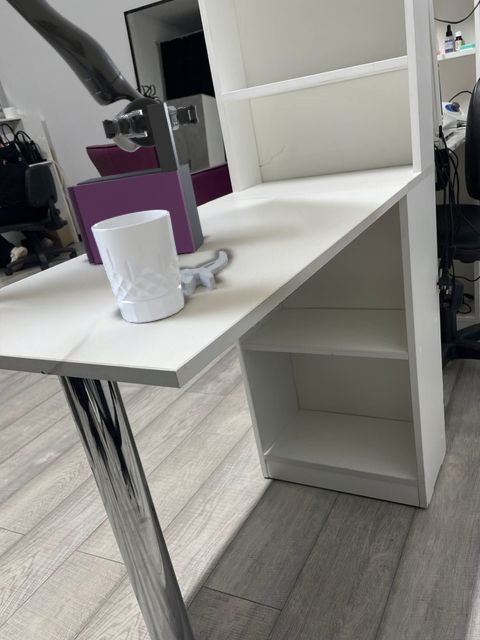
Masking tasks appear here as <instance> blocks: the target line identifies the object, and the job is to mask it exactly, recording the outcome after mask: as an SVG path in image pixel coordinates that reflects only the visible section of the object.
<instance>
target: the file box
mask: <svg viewBox="0 0 480 640" xmlns="http://www.w3.org/2000/svg"><path fill="white" fill-rule="evenodd" d="M179 166H180V170H179V173H180V177H181V182H182V187H183V191H184V196H185V201H186V205H187V210H188V215H189V219H190V224H191V229H192V233H193V238H194V243H195V247H196V250H195V251H197V250H198V249H199V248H200V247H201V246H202V245H203V244H204V243H205V239H204V233H203V230H202V224H201V220H200V215H199V209H198V205H197V201H196V195H195V190H194V185H193V180H192V175H191V172H190V171H191V170H190V167H189V163H181V164H179ZM160 172H162V171H161V167H156V168H150V169H144V170H143V169H142V170H138V171H131V172H124V173H118V174H112V175H106V176H99V177H93V178H89V179H86V180H83V181H81V182H78V183H76V185H83V184H89V183H96V182H102V181H108V180H115V179H121V178H128V177H134V176H141V175H147V174H154V173H160Z"/></svg>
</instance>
